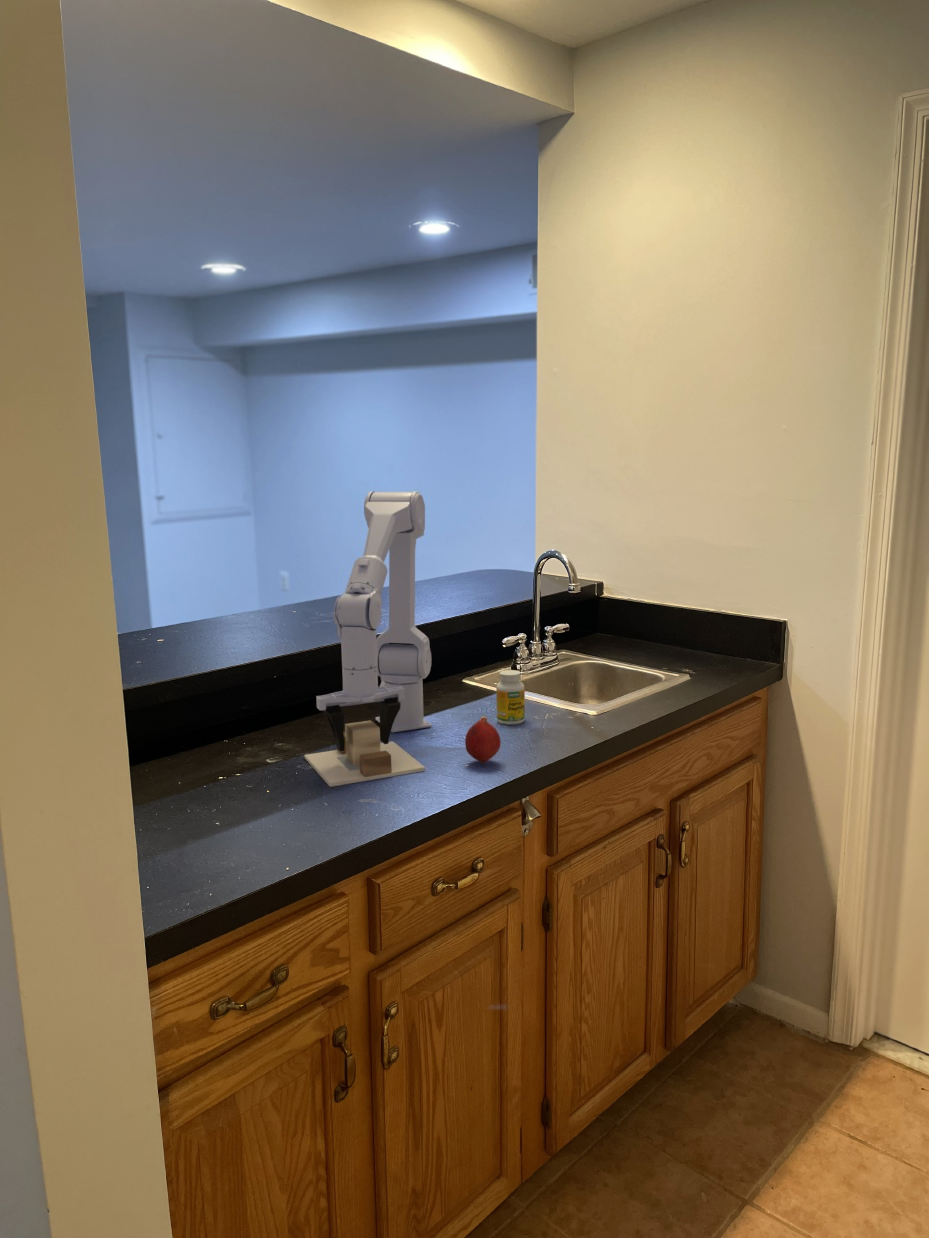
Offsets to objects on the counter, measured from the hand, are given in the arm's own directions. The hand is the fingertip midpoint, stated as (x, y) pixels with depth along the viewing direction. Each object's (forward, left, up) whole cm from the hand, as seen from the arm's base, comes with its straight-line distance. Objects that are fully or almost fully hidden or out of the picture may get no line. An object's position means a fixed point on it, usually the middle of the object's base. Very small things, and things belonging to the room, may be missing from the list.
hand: (362, 745), depth 155 cm
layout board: (0, 0, -3) cm, 3 cm away
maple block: (0, 0, -2) cm, 3 cm away
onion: (+9, +18, -3) cm, 20 cm away
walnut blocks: (0, 0, -3) cm, 3 cm away
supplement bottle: (-10, +33, -3) cm, 35 cm away
